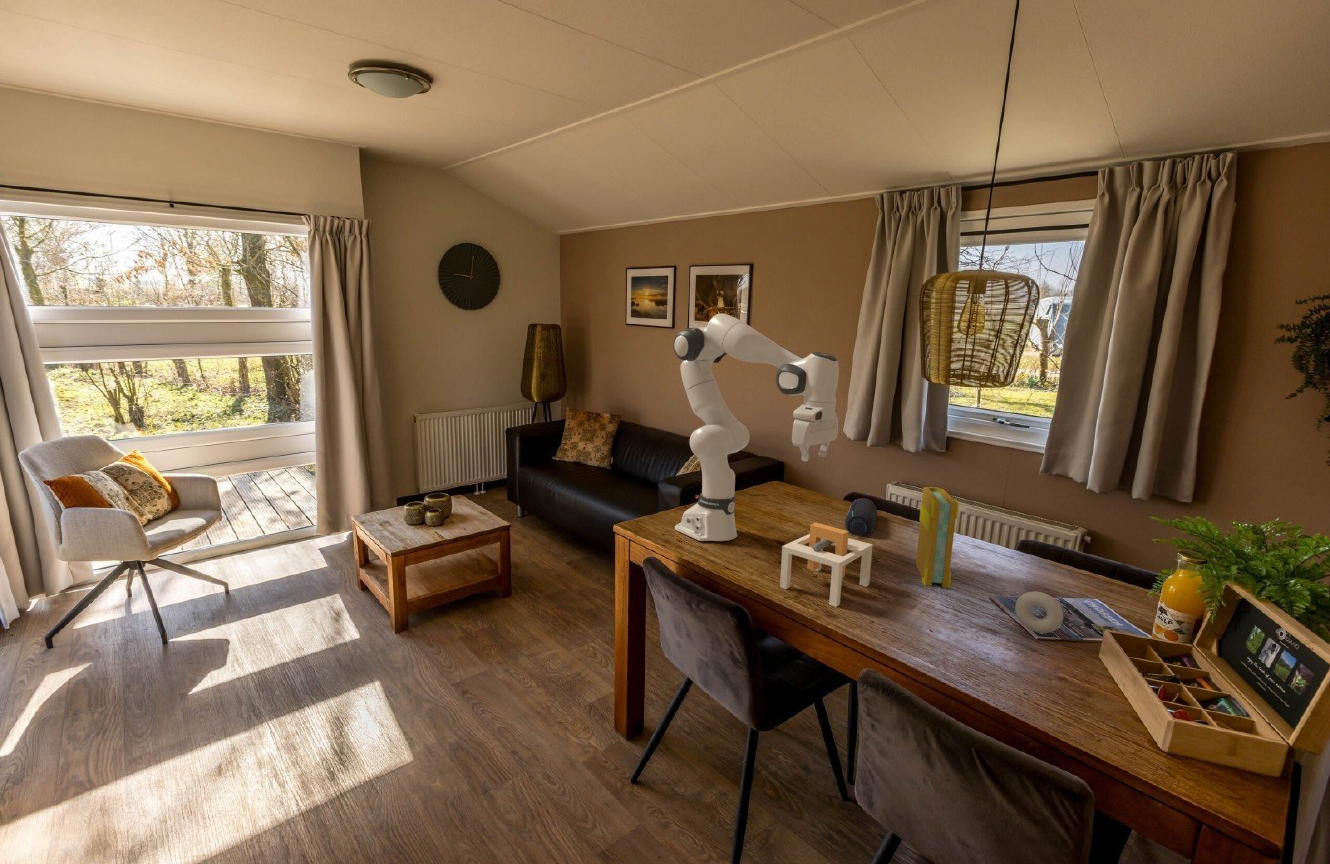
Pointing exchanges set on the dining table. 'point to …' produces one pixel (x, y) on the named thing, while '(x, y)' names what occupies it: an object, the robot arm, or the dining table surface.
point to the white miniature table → (827, 562)
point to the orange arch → (832, 535)
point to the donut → (1034, 623)
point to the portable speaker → (861, 517)
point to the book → (936, 536)
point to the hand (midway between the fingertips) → (813, 458)
